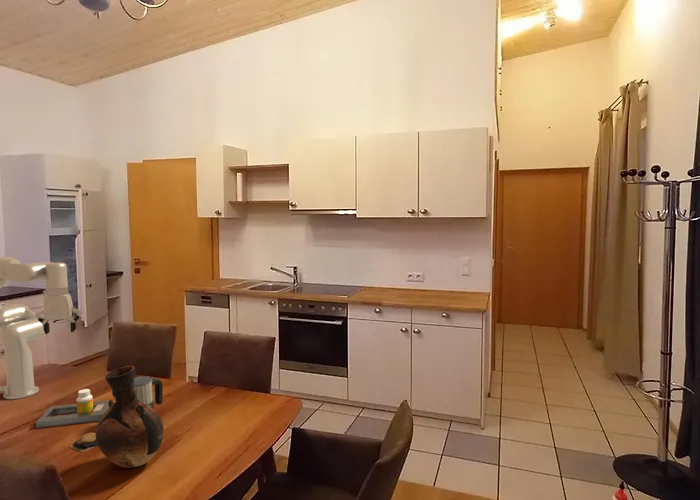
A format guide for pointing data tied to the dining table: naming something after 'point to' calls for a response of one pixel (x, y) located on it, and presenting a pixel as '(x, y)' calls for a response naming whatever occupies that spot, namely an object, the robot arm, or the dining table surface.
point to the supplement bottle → (84, 401)
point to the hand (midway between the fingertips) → (60, 332)
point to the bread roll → (85, 442)
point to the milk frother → (148, 390)
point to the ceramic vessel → (128, 423)
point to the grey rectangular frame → (71, 415)
